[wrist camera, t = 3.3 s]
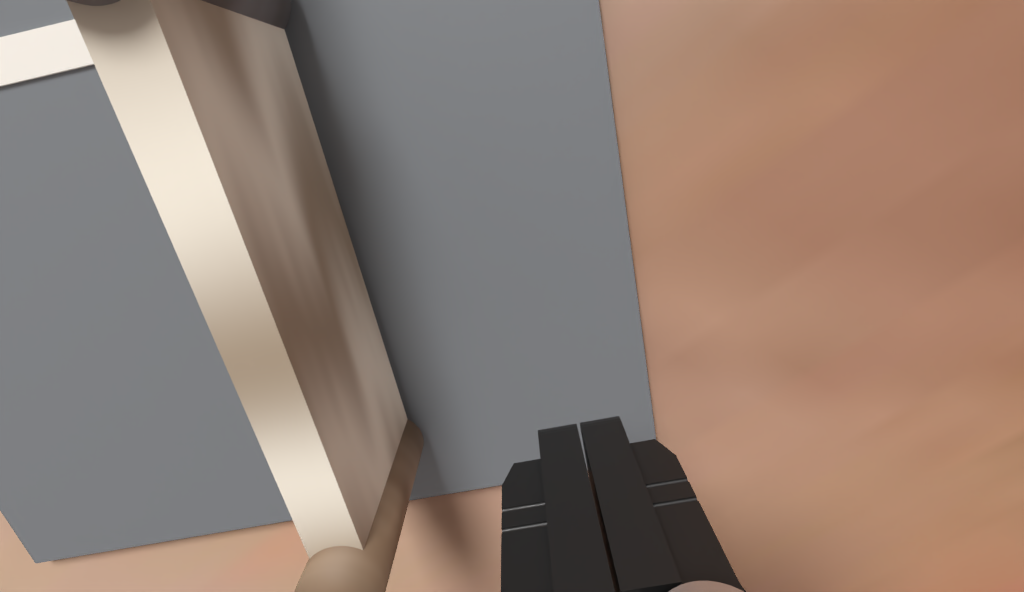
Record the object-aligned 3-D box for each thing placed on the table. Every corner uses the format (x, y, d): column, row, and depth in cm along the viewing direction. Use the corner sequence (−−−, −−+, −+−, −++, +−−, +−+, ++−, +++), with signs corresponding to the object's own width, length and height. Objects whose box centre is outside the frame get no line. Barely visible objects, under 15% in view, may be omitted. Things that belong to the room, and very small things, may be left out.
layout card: (422, -1304, 7) (416, -1398, 7) (655, 451, 17) (659, 460, 17) (-836, -790, 9) (-911, -839, 8) (45, 554, 19) (33, 565, 18)
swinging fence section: (189, -42, 12) (-73, -165, 6) (273, -63, 12) (75, -206, 6) (371, 470, 16) (305, 639, 11) (433, 458, 16) (395, 626, 11)
